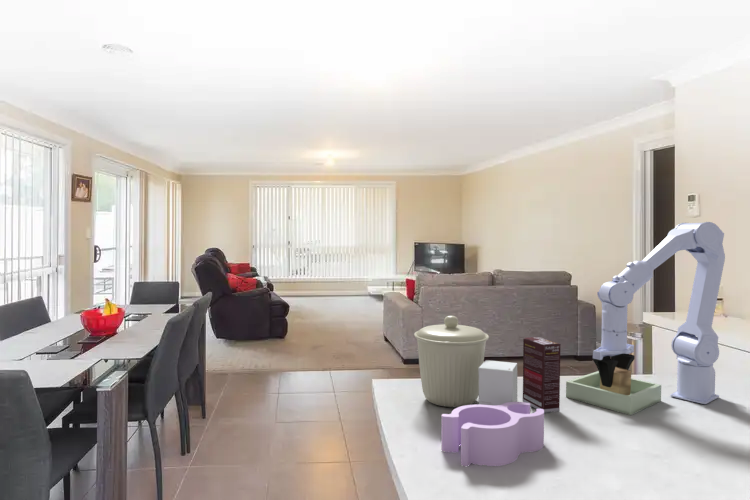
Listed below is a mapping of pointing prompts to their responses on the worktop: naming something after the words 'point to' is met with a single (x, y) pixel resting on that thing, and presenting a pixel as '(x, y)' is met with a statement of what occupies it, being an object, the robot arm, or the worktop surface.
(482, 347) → the canister
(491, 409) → the clip
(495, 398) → the supplement box
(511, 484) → the worktop surface
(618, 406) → the bin
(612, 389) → the oak block
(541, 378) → the supplement box
